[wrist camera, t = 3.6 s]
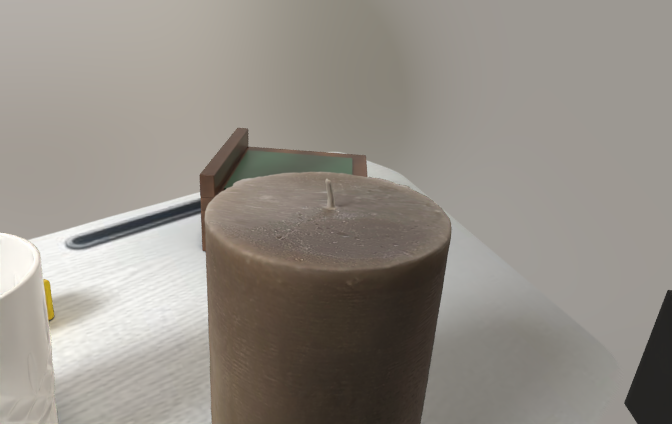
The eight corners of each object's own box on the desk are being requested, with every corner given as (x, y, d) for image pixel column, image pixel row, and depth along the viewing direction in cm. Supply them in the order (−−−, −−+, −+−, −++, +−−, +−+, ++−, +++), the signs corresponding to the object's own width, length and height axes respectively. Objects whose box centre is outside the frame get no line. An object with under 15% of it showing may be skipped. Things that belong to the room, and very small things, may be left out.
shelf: (361, 197, 58) (367, 137, 56) (364, 263, 45) (372, 187, 42) (237, 188, 58) (237, 127, 56) (202, 251, 45) (199, 174, 42)
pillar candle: (357, 607, 20) (404, 266, 14) (168, 488, 24) (140, 185, 18) (437, 435, 28) (489, 171, 22) (285, 368, 32) (293, 129, 26)
